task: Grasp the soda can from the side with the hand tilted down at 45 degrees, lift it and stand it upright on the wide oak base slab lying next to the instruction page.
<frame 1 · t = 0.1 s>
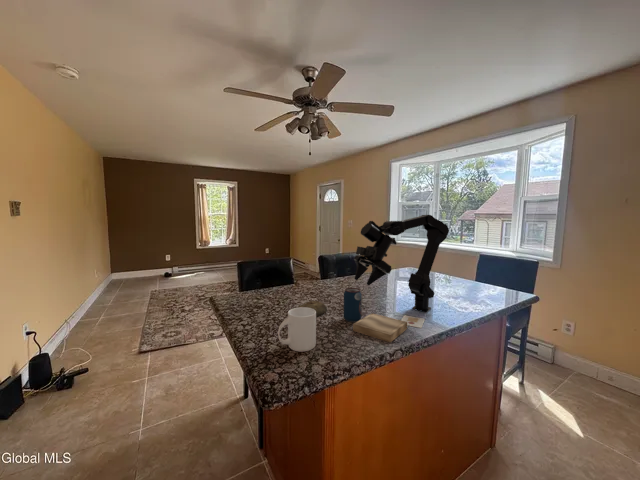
hand: (361, 282, 102), 15 cm above the countertop, tool tilted 35°, fingers open, 9 cm apart
oak slab: (380, 329, 92), on the countertop
soda can: (352, 319, 102), on the countertop
bread roll: (312, 312, 111), on the countertop
mug: (297, 347, 79), on the countertop
black angular block: (353, 305, 122), on the countertop
instruction page: (412, 321, 100), on the countertop
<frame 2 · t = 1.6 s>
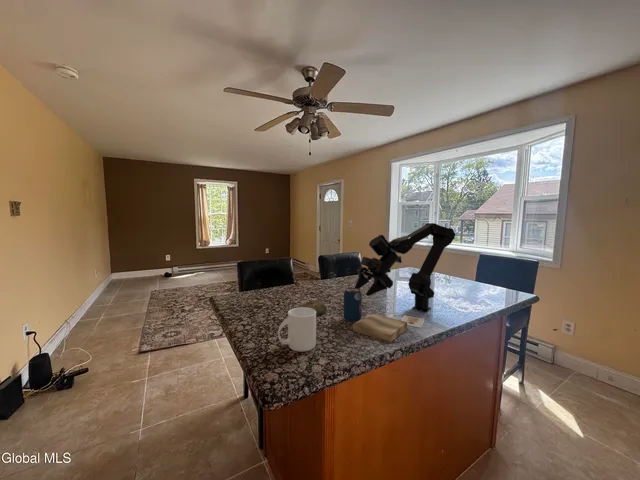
hand: (360, 292, 103), 11 cm above the countertop, tool tilted 45°, fingers open, 9 cm apart
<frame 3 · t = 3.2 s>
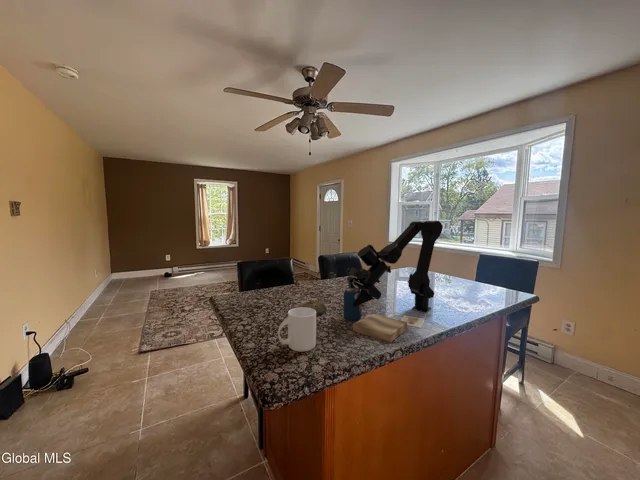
hand: (349, 303, 101), 7 cm above the countertop, tool tilted 45°, fingers closed on soda can, 7 cm apart
soda can: (352, 319, 102), on the countertop, touching gripper
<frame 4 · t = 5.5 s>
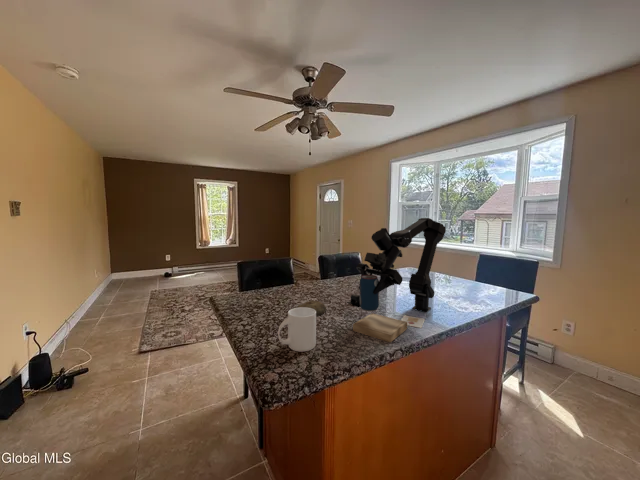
hand: (366, 291, 94), 13 cm above the countertop, tool tilted 45°, fingers closed on soda can, 7 cm apart
soda can: (369, 309, 95), point 6 cm above the countertop, touching gripper
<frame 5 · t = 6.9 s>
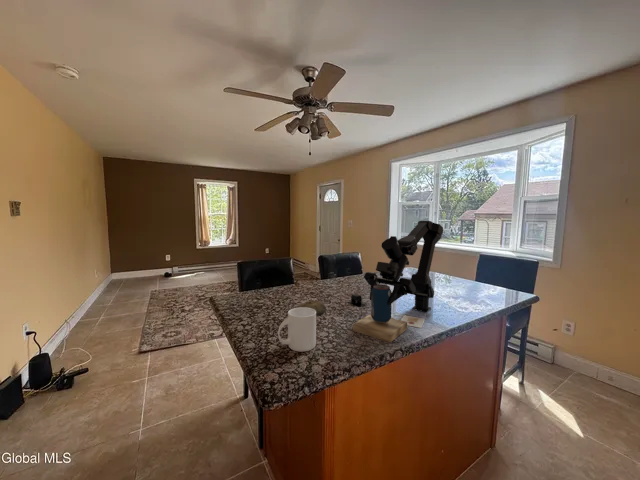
hand: (379, 302, 91), 10 cm above the countertop, tool tilted 45°, fingers closed on soda can, 7 cm apart
soda can: (381, 320, 92), point 3 cm above the countertop, touching gripper
when the fingers open (10 cm above the countertop, at t = 7.6 s): soda can stays where it is, resting on oak slab.
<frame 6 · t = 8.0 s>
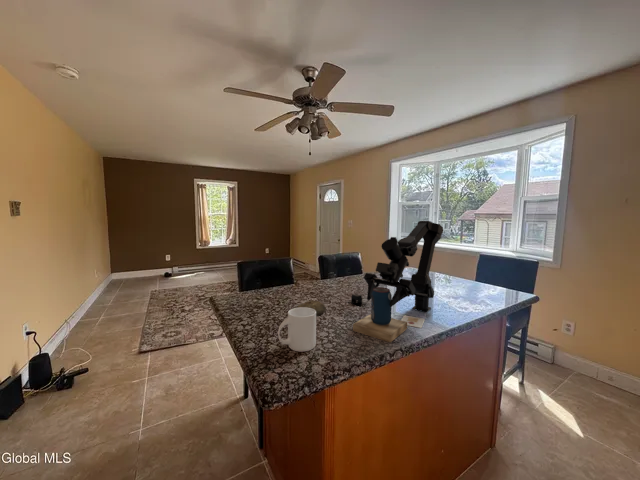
hand: (378, 302, 91), 10 cm above the countertop, tool tilted 45°, fingers open, 9 cm apart
soda can: (380, 323, 92), point 2 cm above the countertop, touching oak slab
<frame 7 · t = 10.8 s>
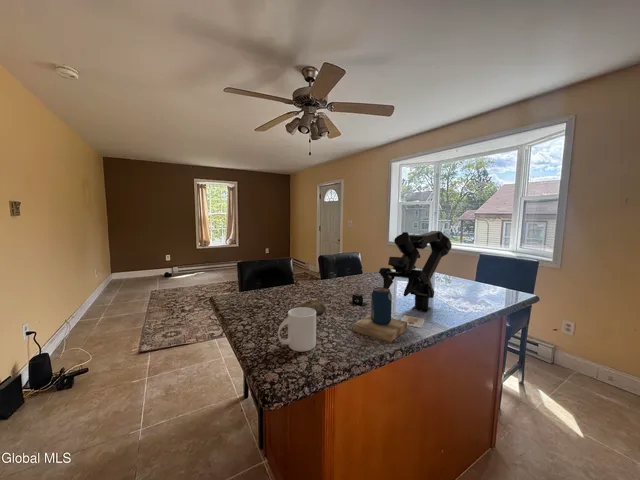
hand: (393, 294, 98), 11 cm above the countertop, tool tilted 40°, fingers open, 9 cm apart
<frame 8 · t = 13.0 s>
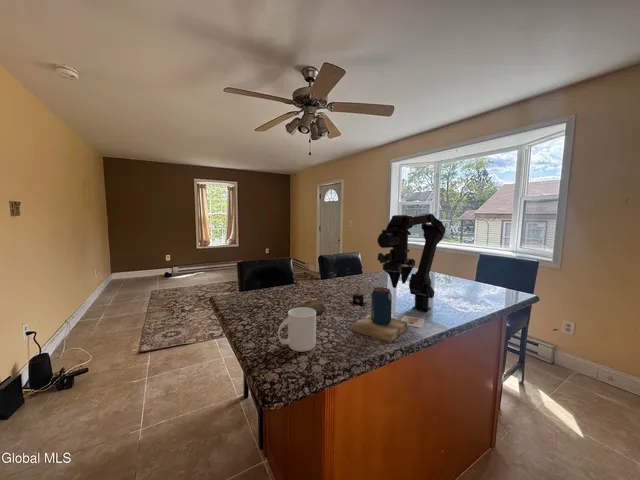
hand: (399, 285, 104), 13 cm above the countertop, tool pointing down, fingers open, 9 cm apart
at the end: soda can inside the target area on the oak slab (0.2 cm from its centre), point 2.4 cm above the oak slab's base; soda can tilted 0°; the gripper is holding nothing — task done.
